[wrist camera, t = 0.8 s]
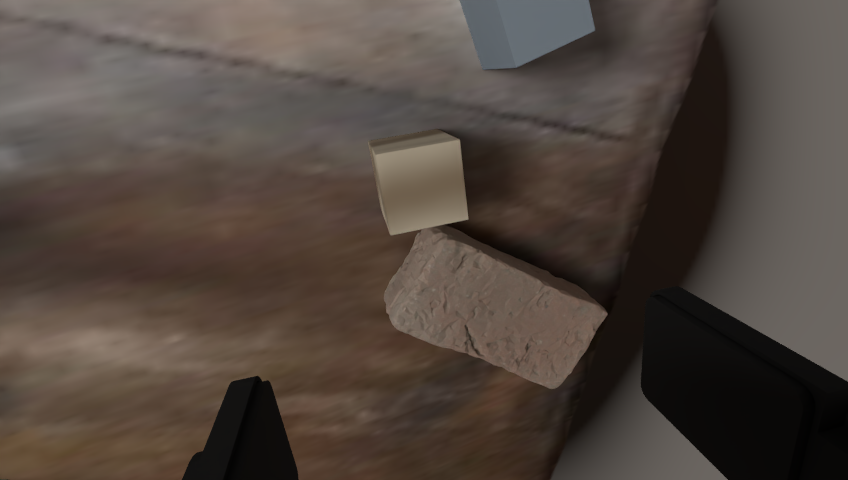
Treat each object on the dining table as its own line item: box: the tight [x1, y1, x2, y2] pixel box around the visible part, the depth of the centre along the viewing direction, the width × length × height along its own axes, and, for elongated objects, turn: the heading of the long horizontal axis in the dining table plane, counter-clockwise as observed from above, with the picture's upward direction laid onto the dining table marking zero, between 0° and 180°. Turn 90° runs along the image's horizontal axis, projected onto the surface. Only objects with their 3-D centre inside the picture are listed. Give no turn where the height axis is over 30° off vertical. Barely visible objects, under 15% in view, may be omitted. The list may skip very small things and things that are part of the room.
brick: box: [384, 225, 608, 389], centre depth 34 cm, size 17×8×5 cm, turn 61°
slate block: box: [460, 0, 595, 70], centre depth 26 cm, size 5×5×6 cm
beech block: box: [368, 129, 468, 235], centre depth 28 cm, size 5×5×6 cm
